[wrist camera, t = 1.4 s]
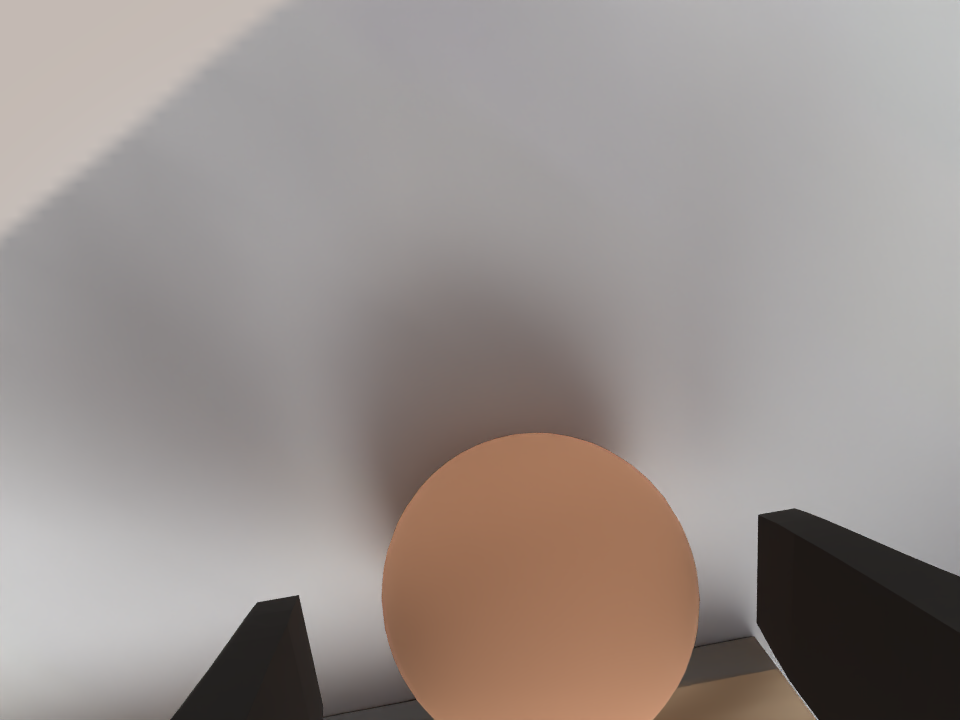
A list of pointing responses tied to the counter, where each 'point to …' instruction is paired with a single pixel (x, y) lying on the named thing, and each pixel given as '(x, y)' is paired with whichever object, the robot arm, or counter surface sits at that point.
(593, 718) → the ball
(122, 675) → the counter surface
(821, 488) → the counter surface
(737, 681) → the lane
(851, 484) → the counter surface
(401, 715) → the mat
